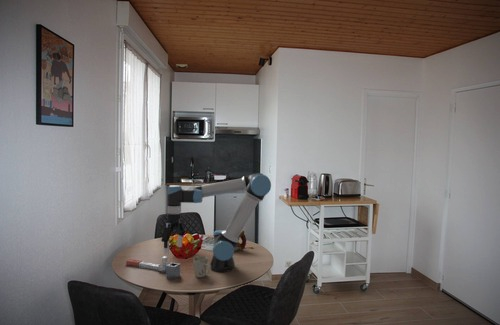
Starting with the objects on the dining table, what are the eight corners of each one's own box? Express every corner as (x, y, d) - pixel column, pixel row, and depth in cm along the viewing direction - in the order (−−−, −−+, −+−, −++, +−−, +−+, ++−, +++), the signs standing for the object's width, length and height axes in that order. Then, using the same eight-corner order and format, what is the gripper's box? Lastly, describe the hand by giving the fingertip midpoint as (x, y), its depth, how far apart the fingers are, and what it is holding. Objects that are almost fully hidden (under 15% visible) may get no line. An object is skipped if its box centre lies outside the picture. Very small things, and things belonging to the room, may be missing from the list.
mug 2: (227, 246, 239) (228, 227, 238) (248, 249, 234) (248, 229, 233) (221, 251, 229) (222, 230, 228) (243, 254, 223) (244, 233, 223)
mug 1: (200, 271, 190) (200, 254, 190) (215, 277, 182) (215, 260, 182) (189, 275, 184) (190, 258, 183) (204, 281, 176) (204, 263, 175)
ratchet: (172, 269, 192) (172, 256, 192) (165, 273, 186) (166, 259, 185) (131, 262, 202) (131, 249, 202) (124, 266, 195) (124, 253, 195)
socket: (180, 275, 183) (180, 263, 183) (174, 279, 178) (174, 267, 177) (171, 274, 185) (171, 262, 184) (166, 277, 179) (166, 265, 179)
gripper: (180, 208, 193) (179, 243, 194) (155, 216, 169) (154, 255, 170) (191, 209, 190) (190, 244, 191) (167, 217, 167) (166, 257, 168)
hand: (173, 249), depth 181 cm, fingers open, 13 cm apart
